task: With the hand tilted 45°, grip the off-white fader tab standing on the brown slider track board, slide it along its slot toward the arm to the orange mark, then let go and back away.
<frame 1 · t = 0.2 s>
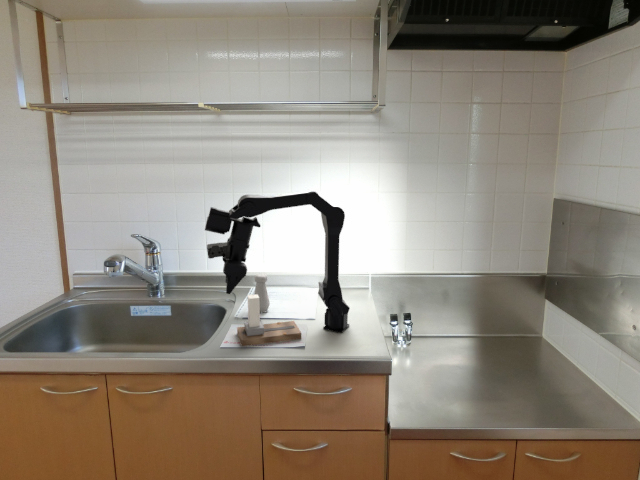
hand: (227, 288, 130), 16 cm above the countertop, tool tilted 15°, fingers open, 9 cm apart
salt shaker: (261, 310, 154), on the countertop
brown slider track board: (269, 336, 135), on the countertop
fader tab: (253, 313, 132), point 8 cm above the countertop, slide at 0.0 cm
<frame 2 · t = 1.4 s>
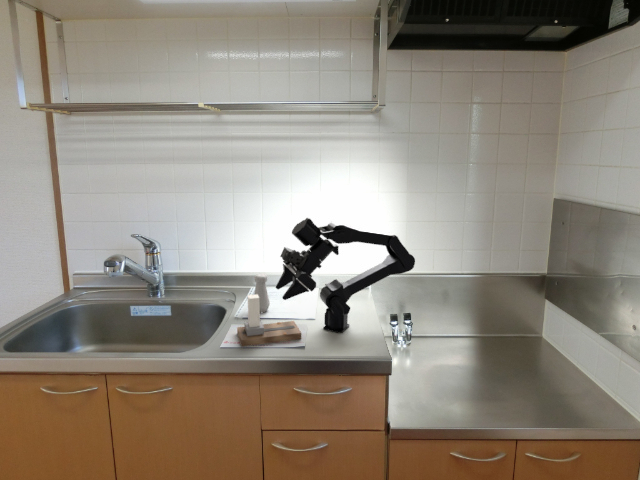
hand: (279, 293, 133), 13 cm above the countertop, tool tilted 45°, fingers open, 9 cm apart
nothing on the countertop moved.
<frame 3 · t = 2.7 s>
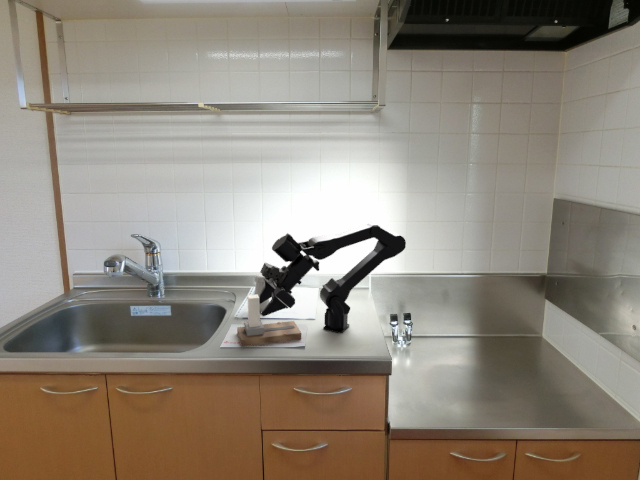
hand: (259, 309, 132), 9 cm above the countertop, tool tilted 45°, fingers open, 9 cm apart
nothing on the countertop moved.
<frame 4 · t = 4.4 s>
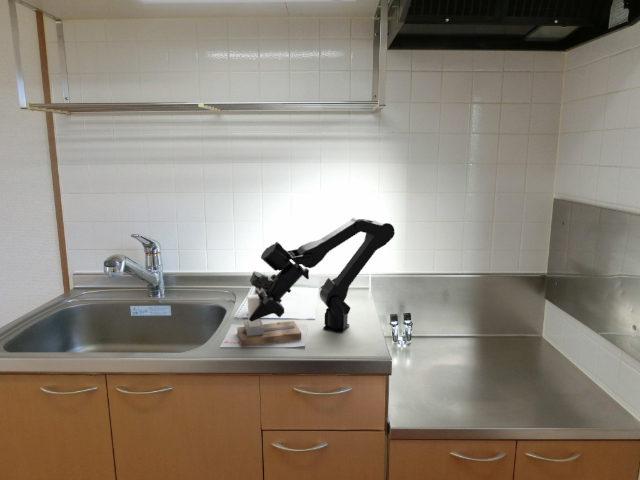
hand: (249, 318, 132), 7 cm above the countertop, tool tilted 45°, fingers closed on fader tab, 3 cm apart
fader tab: (253, 313, 132), point 8 cm above the countertop, slide at 0.0 cm, touching gripper
everything else where it was.
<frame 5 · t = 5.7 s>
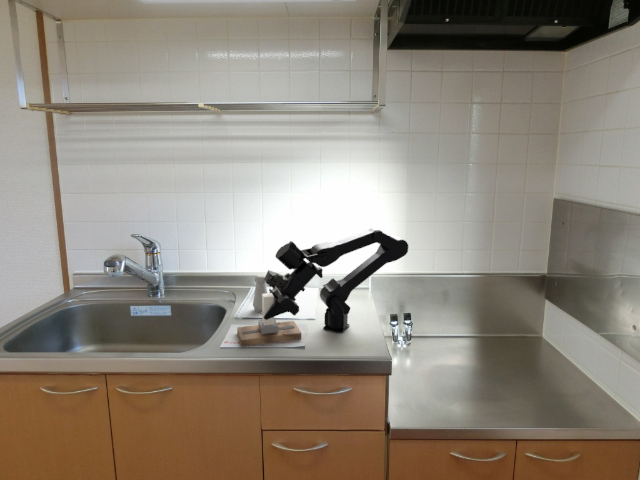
hand: (263, 316, 133), 7 cm above the countertop, tool tilted 45°, fingers closed on fader tab, 3 cm apart
fader tab: (268, 312, 133), point 8 cm above the countertop, slide at 4.3 cm, touching gripper
everything else where it was.
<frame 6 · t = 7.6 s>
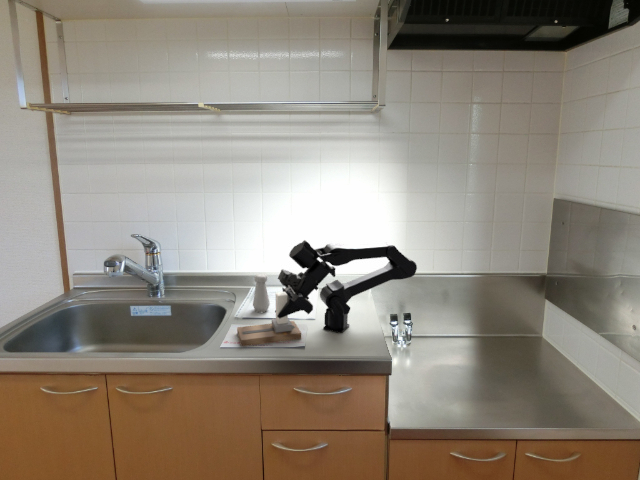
hand: (277, 315, 134), 7 cm above the countertop, tool tilted 45°, fingers open, 3 cm apart
fader tab: (281, 310, 134), point 8 cm above the countertop, slide at 8.5 cm
everything else where it was.
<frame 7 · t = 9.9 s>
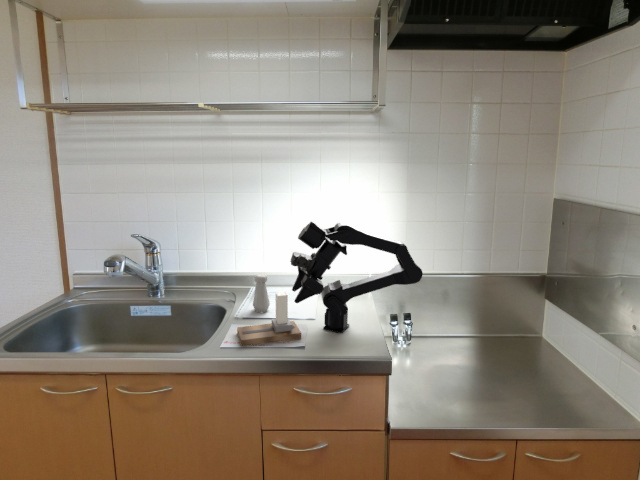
hand: (294, 296, 138), 11 cm above the countertop, tool tilted 35°, fingers open, 9 cm apart
nothing on the countertop moved.
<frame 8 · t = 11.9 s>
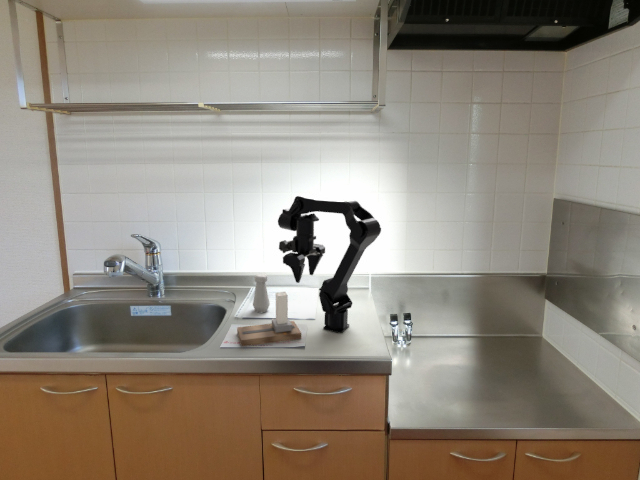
hand: (304, 278, 148), 13 cm above the countertop, tool pointing down, fingers open, 9 cm apart
nothing on the countertop moved.
at the end: fader tab slide at 8.5 cm; the gripper is holding nothing; salt shaker moved 0.2 cm from its start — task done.
